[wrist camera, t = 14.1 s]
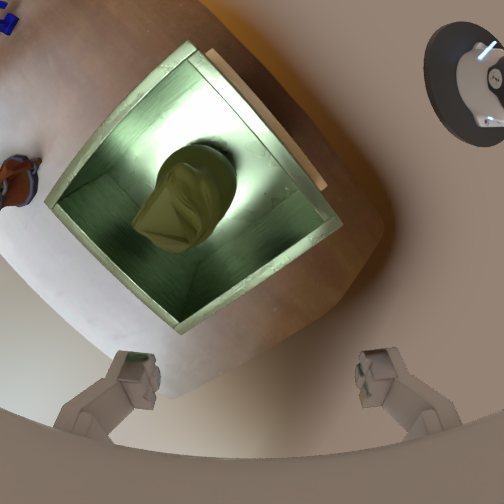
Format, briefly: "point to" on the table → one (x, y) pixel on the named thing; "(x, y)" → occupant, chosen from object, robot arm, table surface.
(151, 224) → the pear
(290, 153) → the bin
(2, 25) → the figurine
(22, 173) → the mug
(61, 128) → the table surface
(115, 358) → the robot arm
